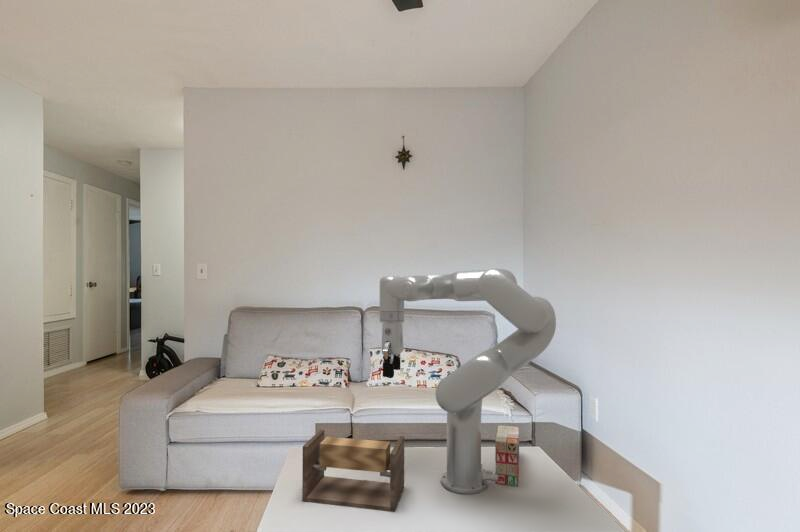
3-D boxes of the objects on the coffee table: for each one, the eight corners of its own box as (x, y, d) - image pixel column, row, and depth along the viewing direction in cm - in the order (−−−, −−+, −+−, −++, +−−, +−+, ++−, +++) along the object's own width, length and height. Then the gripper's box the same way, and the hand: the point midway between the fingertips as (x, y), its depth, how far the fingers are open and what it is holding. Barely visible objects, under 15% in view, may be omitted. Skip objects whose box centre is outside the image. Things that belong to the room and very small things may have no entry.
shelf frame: (404, 487, 118) (404, 436, 118) (394, 511, 106) (394, 454, 106) (320, 479, 123) (320, 429, 123) (302, 501, 111) (302, 446, 111)
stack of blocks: (499, 453, 141) (499, 415, 141) (519, 455, 139) (519, 417, 139) (495, 484, 120) (495, 439, 120) (518, 487, 118) (518, 442, 119)
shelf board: (390, 464, 115) (390, 441, 115) (385, 472, 110) (385, 449, 110) (326, 458, 119) (326, 436, 119) (319, 466, 114) (319, 443, 114)
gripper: (398, 320, 122) (398, 380, 122) (409, 314, 139) (409, 367, 139) (372, 319, 124) (372, 379, 124) (386, 313, 141) (386, 366, 140)
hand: (391, 373), depth 131 cm, fingers open, 9 cm apart
